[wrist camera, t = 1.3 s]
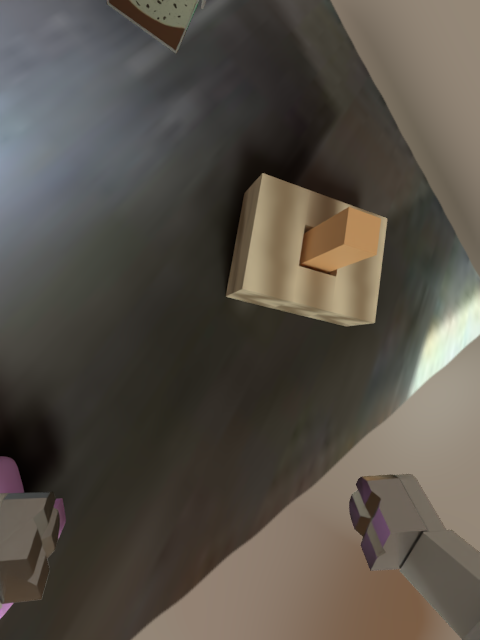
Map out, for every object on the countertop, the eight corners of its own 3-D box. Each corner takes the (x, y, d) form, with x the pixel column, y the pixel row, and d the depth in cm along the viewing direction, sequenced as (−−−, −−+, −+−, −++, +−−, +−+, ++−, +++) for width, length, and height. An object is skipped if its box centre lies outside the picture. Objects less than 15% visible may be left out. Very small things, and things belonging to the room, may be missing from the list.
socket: (225, 296, 49) (242, 288, 43) (244, 193, 51) (262, 173, 45) (346, 326, 54) (374, 322, 49) (358, 232, 56) (387, 218, 51)
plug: (281, 272, 52) (343, 244, 39) (286, 244, 52) (349, 206, 39) (307, 279, 53) (376, 254, 40) (311, 252, 54) (381, 218, 40)
